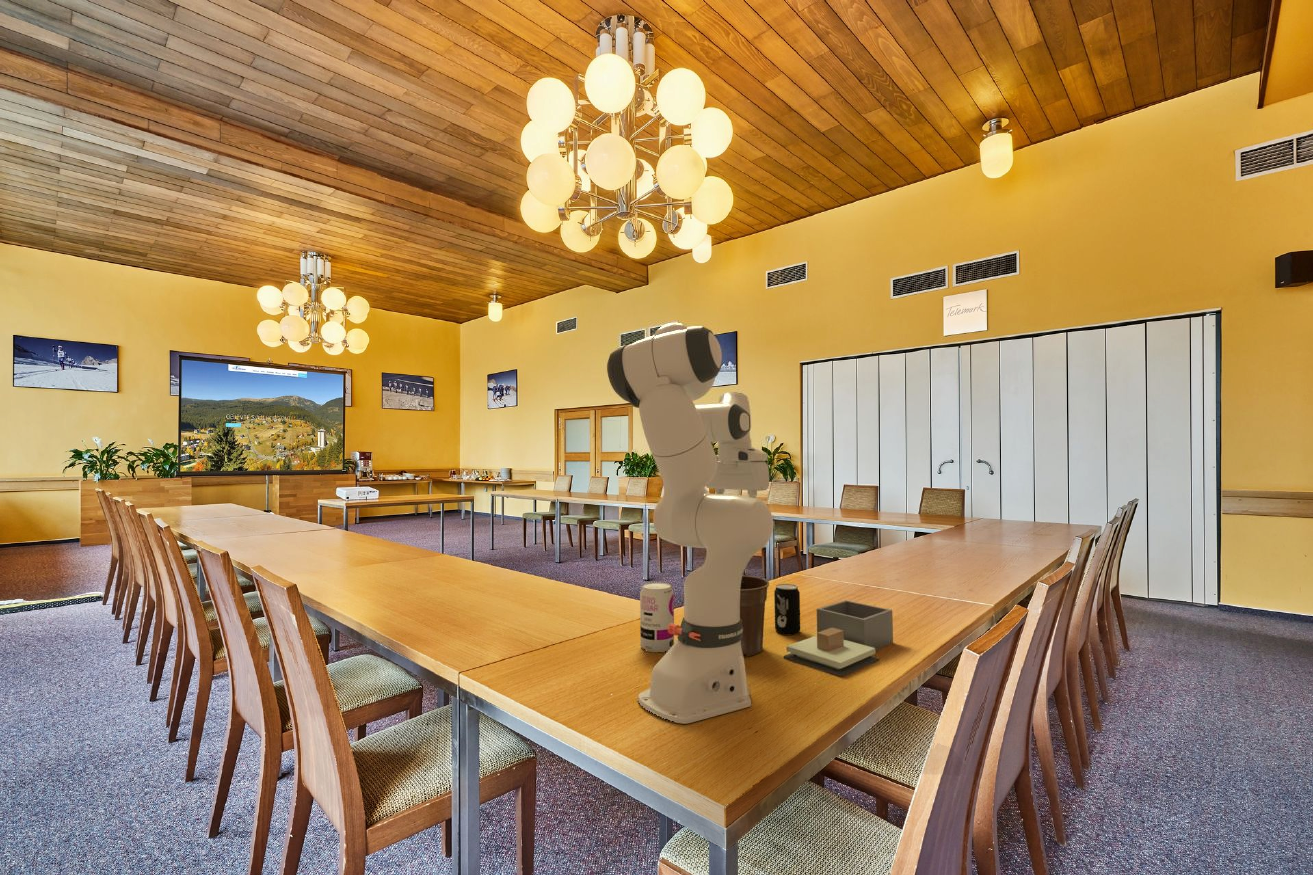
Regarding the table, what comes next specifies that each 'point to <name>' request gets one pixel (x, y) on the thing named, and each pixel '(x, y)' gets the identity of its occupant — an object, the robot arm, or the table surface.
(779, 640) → the table surface
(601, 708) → the table surface
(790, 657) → the rubber mat
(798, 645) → the lid
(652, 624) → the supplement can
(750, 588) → the plant pot
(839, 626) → the storage box
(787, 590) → the beverage can
